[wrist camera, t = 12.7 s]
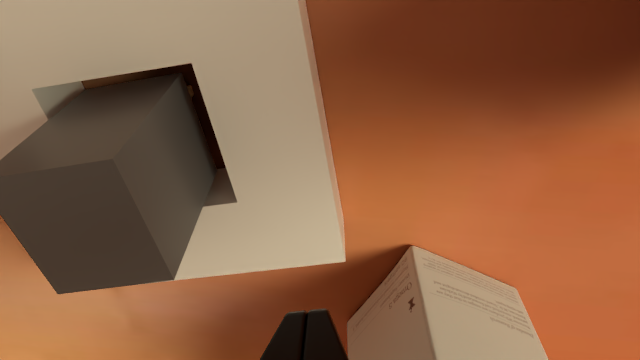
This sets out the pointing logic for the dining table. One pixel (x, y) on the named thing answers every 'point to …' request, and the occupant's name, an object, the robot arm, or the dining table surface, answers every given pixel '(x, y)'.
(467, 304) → the supplement box
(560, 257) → the dining table surface
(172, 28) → the socket
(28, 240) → the plug
